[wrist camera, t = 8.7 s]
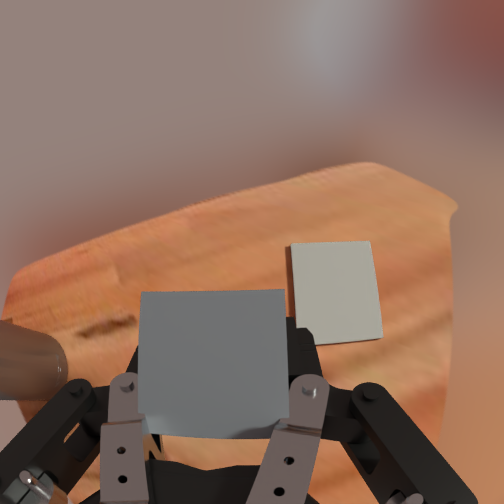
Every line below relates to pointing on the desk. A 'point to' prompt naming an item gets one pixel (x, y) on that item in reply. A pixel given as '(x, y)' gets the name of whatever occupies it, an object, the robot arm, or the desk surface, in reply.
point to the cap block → (213, 363)
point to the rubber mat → (336, 291)
